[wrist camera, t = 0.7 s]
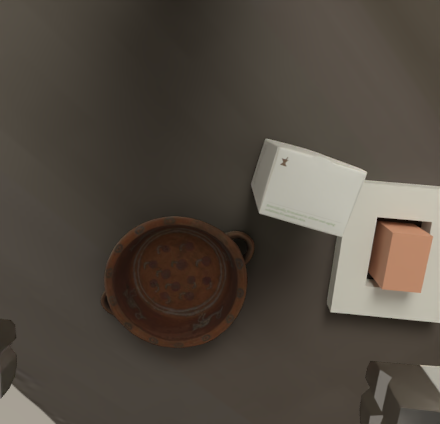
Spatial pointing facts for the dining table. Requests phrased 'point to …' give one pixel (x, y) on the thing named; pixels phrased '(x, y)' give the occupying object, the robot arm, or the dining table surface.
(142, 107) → the dining table surface
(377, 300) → the pocket board
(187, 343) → the dish
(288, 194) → the skincare box
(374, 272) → the part
